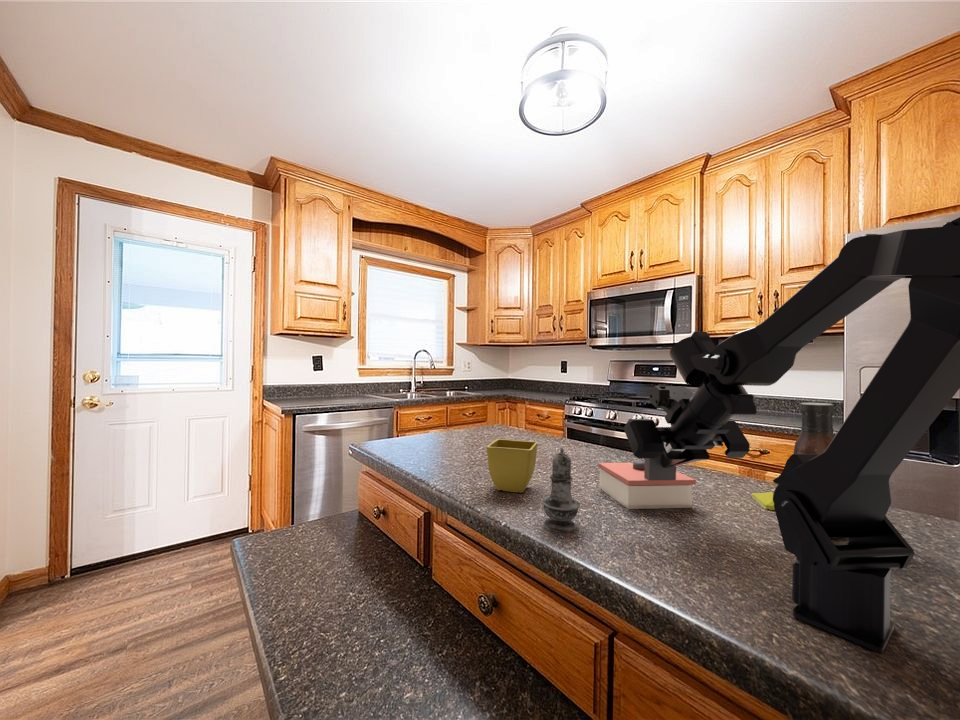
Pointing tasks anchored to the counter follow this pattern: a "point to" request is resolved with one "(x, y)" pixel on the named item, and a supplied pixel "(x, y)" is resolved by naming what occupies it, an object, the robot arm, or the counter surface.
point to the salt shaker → (561, 497)
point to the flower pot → (511, 463)
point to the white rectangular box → (646, 494)
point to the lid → (646, 473)
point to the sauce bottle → (815, 428)
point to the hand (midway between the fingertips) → (663, 465)
